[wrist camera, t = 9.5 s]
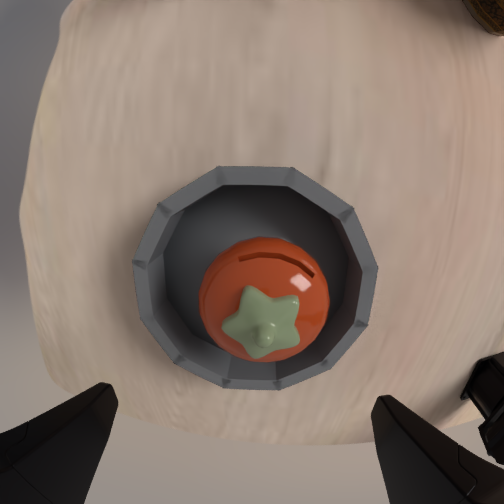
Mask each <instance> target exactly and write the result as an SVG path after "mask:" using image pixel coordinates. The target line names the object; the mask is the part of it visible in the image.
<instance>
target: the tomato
mask: <svg viewBox="0 0 504 504" xmlns="http://www.w3.org/2000/svg"><path fill="white" fill-rule="evenodd" d="M198 305H199V314H200V317H201V319H202V322H203V325H204V327H205V329H206V331H207V333H208V334H209V335H210V336H211V338H212V339H213V340H214V341H215V343H216V344H217V345H218V346H219V347H220V348H222V349H223V350H225V351H226V352H228V353H229V354H231V355H232V356H234V357H237V358H240V359H243V360H246V361H249V362H258V363H271V362H277V361H282V360H286V359H288V358H290V357H292V356H294V355H296V354H298V353H300V352H302V351H303V350H304V349H306V348H307V347H308V346H309V345H310V344H311V343H312V342H313V341H314V340H315V339H316V338H317V336H318V334H319V333H320V331H321V329H322V328H323V326H324V324H325V322H326V320H327V316H328V311H329V306H330V298H329V292H328V286H327V281H326V277H325V275H324V273H323V272H322V270H321V268H320V266H319V264H318V263H317V261H316V260H315V259H314V258H313V257H312V256H310V255H309V254H308V253H307V252H306V251H305V250H303V249H302V248H301V247H300V246H298V245H296V244H293V243H291V242H288V241H286V240H283V239H281V238H277V237H263V236H258V237H253V238H249V239H245V240H241V241H238V242H237V243H235V244H233V245H232V246H230V247H229V248H227V249H225V250H224V251H222V252H221V253H219V254H218V255H217V256H216V258H215V259H214V260H213V261H212V262H211V264H210V265H209V266H208V267H207V268H206V270H205V273H204V276H203V279H202V282H201V285H200V288H199V293H198Z"/></svg>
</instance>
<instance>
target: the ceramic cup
mask: <svg viewBox="0 0 504 504" xmlns="http://www.w3.org/2000/svg"><path fill="white" fill-rule="evenodd" d="M462 1H463V2H464V4H465V5H466V7H467V8H468V10H469V11H470V13H471V15H472V16H473V18H474V19H476V20H477V21H478V22H479V23H480V24H481V25H482V26H483V27H484V28H485V29H486V30H487V31H488V32H489V33H491V34H495V35H498V36H504V0H462Z"/></svg>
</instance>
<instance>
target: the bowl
mask: <svg viewBox="0 0 504 504" xmlns="http://www.w3.org/2000/svg"><path fill="white" fill-rule="evenodd" d="M258 236H263V237H277V238H281V239H283V240H286V241H288V242H291V243H293V244H296V245H298V246H300V247H301V248H302V249H303V250H305V251H306V252H307V253H308V254H309V255H310V256H312V257H313V258H314V259H315V260H316V261H317V263H318V264H319V266H320V268H321V270H322V272H323V273H324V275H325V277H326V281H327V286H328V292H329V298H330V306H329V311H328V316H327V320H326V322H325V324H324V326H323V328H322V329H321V331H320V333H319V334H318V336H317V338H316V339H315V340H314V341H313V342H312V343H311V344H310V345H309V346H308V347H307V348H306V349H304V350H303V351H302V352H300V353H298V354H296V355H294V356H292V357H290V358H288V359H286V360H282V361H277V362H271V363H258V362H249V361H246V360H243V359H240V358H237V357H234V356H232V355H231V354H229V353H228V352H226V351H225V350H223V349H222V348H220V347H219V346H218V345H217V344H216V343H215V341H214V340H213V339H212V338H211V336H210V335H209V334H208V333H207V331H206V329H205V327H204V325H203V322H202V319H201V317H200V314H199V305H198V293H199V288H200V285H201V282H202V279H203V276H204V273H205V270H206V268H207V267H208V266H209V265H210V264H211V262H212V261H213V260H214V259H215V258H216V256H217V255H218V254H219V253H221V252H222V251H224V250H225V249H227V248H229V247H230V246H232V245H233V244H235V243H237V242H238V241H241V240H245V239H249V238H253V237H258ZM132 263H133V272H134V280H135V288H136V295H137V301H138V308H139V314H140V319H141V320H142V322H143V323H144V325H145V326H146V327H147V329H148V330H149V331H150V333H151V334H152V335H153V337H154V338H155V339H156V341H157V342H158V343H159V345H160V346H161V347H162V349H163V350H164V351H165V352H166V354H167V355H168V356H169V357H170V359H171V360H172V361H173V363H174V364H176V365H178V366H180V367H182V368H184V369H186V370H188V371H190V372H192V373H194V374H196V375H198V376H200V377H202V378H204V379H206V380H208V381H210V382H212V383H214V384H216V385H218V386H220V387H222V388H229V389H247V390H278V391H279V390H281V389H284V388H286V387H289V386H292V385H294V384H297V383H299V382H301V381H304V380H306V379H309V378H311V377H313V376H316V375H318V374H320V373H322V372H325V371H327V370H329V369H331V368H332V367H333V366H334V365H335V363H336V362H337V361H338V360H339V359H340V358H341V357H342V356H343V355H344V353H345V352H346V351H347V350H348V349H349V348H350V346H351V345H352V344H353V343H354V342H355V340H356V339H357V338H358V337H359V336H360V334H361V333H362V332H363V331H364V329H365V328H366V327H367V326H368V321H369V316H370V311H371V306H372V301H373V296H374V290H375V284H376V278H377V272H378V266H377V263H376V261H375V258H374V256H373V253H372V251H371V248H370V246H369V243H368V241H367V238H366V236H365V233H364V231H363V229H362V226H361V224H360V222H359V220H358V217H357V215H356V213H355V211H354V208H353V206H350V205H349V204H347V203H346V202H344V201H343V200H341V199H340V198H339V197H337V196H336V195H334V194H333V193H331V192H330V191H328V190H327V189H325V188H324V187H322V186H321V185H319V184H318V183H316V182H315V181H313V180H312V179H310V178H309V177H307V176H306V175H304V174H302V173H301V172H299V171H298V170H296V169H295V168H293V167H290V168H289V167H255V166H218V167H216V168H215V169H213V170H211V171H210V172H208V173H206V174H205V175H203V176H201V177H200V178H198V179H196V180H195V181H193V182H191V183H190V184H188V185H187V186H185V187H184V188H182V189H180V190H179V191H177V192H176V193H174V194H173V195H171V196H170V197H168V198H166V199H165V200H163V201H162V202H159V203H158V204H157V208H156V210H155V212H154V214H153V216H152V218H151V220H150V222H149V224H148V227H147V229H146V231H145V233H144V235H143V238H142V240H141V242H140V244H139V247H138V249H137V251H136V254H135V256H134V258H133V260H132Z"/></svg>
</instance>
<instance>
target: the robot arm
mask: <svg viewBox="0 0 504 504" xmlns="http://www.w3.org/2000/svg"><path fill="white" fill-rule="evenodd" d="M468 398H470V399H471V400H472V402H473V403H474V405H475V406H476V407H477V409H478V410H479V411H480V413H481V414H482V416H483V417H484V419H485V421H484V422H483V424H481V425H480V426H479V427H478V429H479V431H480V432H479V433H480V436H481V438H482V440H483V443H484V445H485V448H486V450H487V454H488V455H489V456H492V457H493V458H495V460H496V462H497V463H499V464H502V465H504V352H502V353H499V354H496V355H493V356H490V357H487V358H483V359H481V360H479V362H478V363H477V365H476V367H475V370H474V372H473V374H472V376H471V378H470V380H469V382H468V384H467V386H466V388H465V389H464V391H463V393H462V395H461V397H460V399H461V400H465V399H468ZM117 408H118V399H117V397H116V394H115V391H114V389H113V386H112V385H111V384H108V383H104V382H100V383H98V384H96V385H95V386H93V387H91V388H89V389H87V390H86V391H84V392H82V393H80V394H78V395H76V396H75V397H73V398H71V399H69V400H67V401H65V402H64V403H62V404H60V405H58V406H56V407H54V408H52V409H50V410H49V411H47V412H45V413H43V414H41V415H39V416H37V417H36V418H33V419H31V420H29V422H28V421H27V422H25V423H23V424H21V425H19V426H17V427H15V428H13V429H11V430H8V431H6V432H3V433H0V504H84V502H85V499H86V496H87V493H88V491H89V488H90V485H91V482H92V480H93V477H94V475H95V472H96V469H97V467H98V464H99V461H100V459H101V456H102V454H103V451H104V449H105V446H106V444H107V441H108V438H109V435H110V432H111V428H112V425H113V421H114V418H115V414H116V411H117ZM371 420H372V426H373V432H374V438H375V445H376V450H377V455H378V459H379V463H380V466H381V470H382V474H383V478H384V482H385V486H386V490H387V494H388V498H389V502H390V504H504V469H502V468H500V467H498V466H496V465H494V464H492V463H490V462H488V461H486V460H484V459H482V458H480V457H478V456H477V455H475V454H473V453H472V452H470V451H468V450H467V449H465V448H464V447H463V446H461V445H458V443H457V442H455V441H454V440H452V439H451V438H449V437H448V436H447V435H445V434H444V433H442V432H441V431H439V430H438V429H437V428H435V427H434V426H432V425H431V424H430V423H428V422H427V421H425V420H424V419H423V418H421V417H420V416H418V415H417V414H416V413H414V412H413V411H412V410H410V409H409V408H407V407H406V406H405V405H403V404H402V403H401V402H399V401H398V400H397V399H395V398H394V397H392V396H391V395H383V396H379V397H378V398H377V400H376V402H375V405H374V407H373V410H372V412H371Z"/></svg>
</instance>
